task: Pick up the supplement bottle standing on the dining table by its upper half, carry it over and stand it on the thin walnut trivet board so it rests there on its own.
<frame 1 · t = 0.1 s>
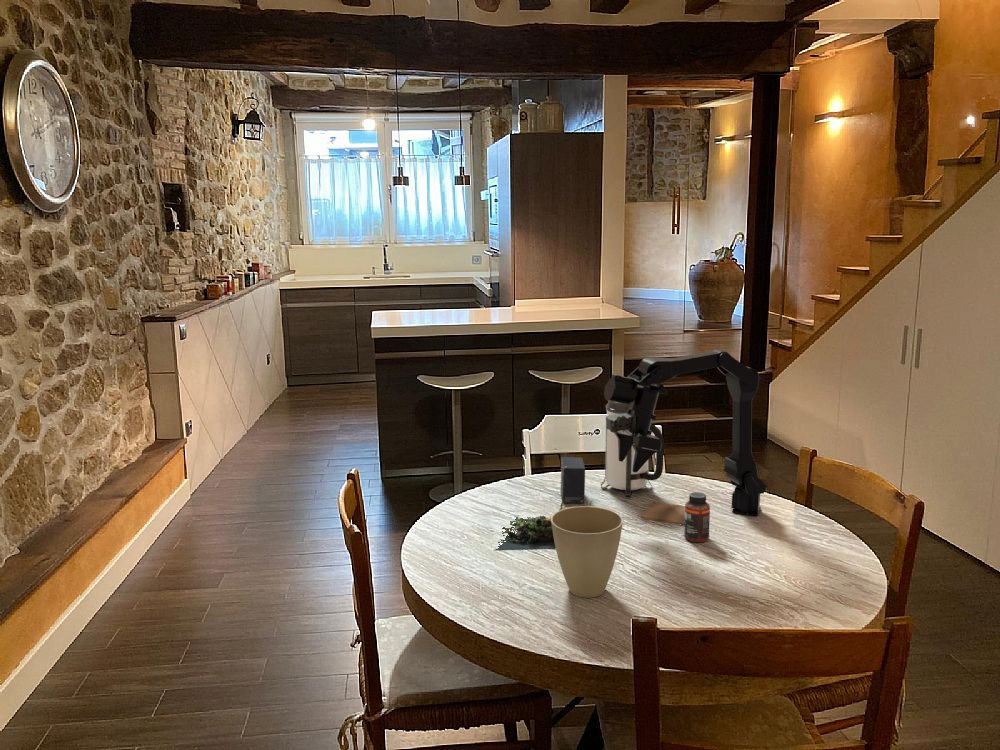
hand: (627, 466, 194), 15 cm above the table, tool pointing down, fingers open, 9 cm apart
coffee press: (630, 490, 222), on the table
plant pot: (585, 590, 161), on the table
small box: (572, 498, 216), on the table
walnut trivet: (669, 516, 203), on the table
supplement bottle: (696, 539, 187), on the table
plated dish: (547, 533, 193), on the table
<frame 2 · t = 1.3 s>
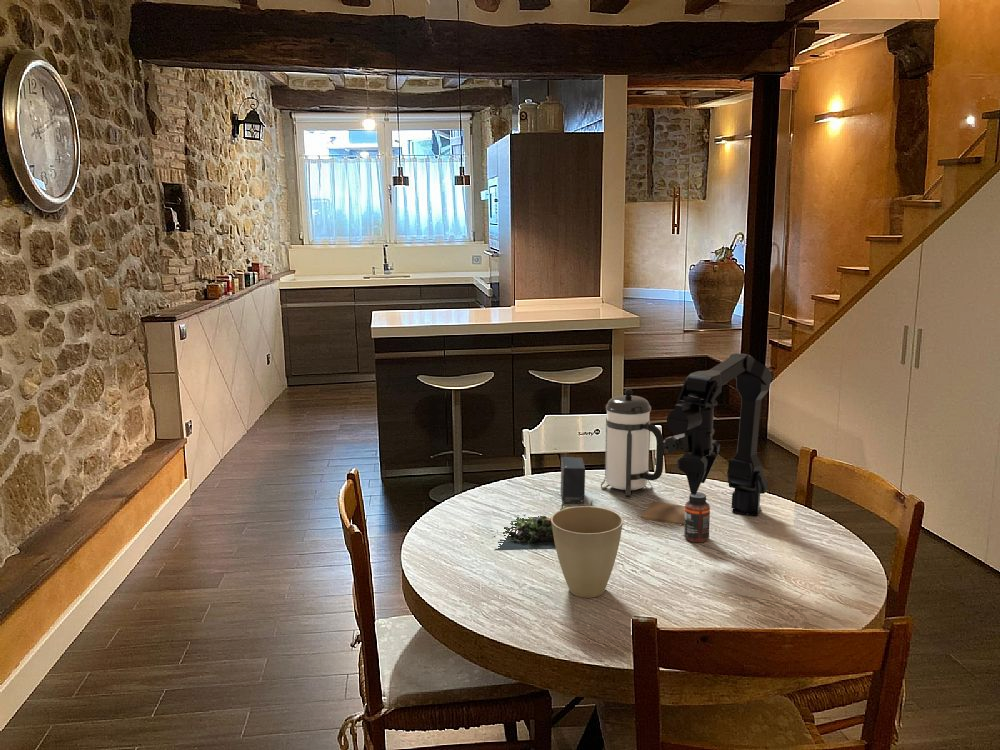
hand: (697, 488, 185), 13 cm above the table, tool pointing down, fingers open, 9 cm apart
nothing on the table moved.
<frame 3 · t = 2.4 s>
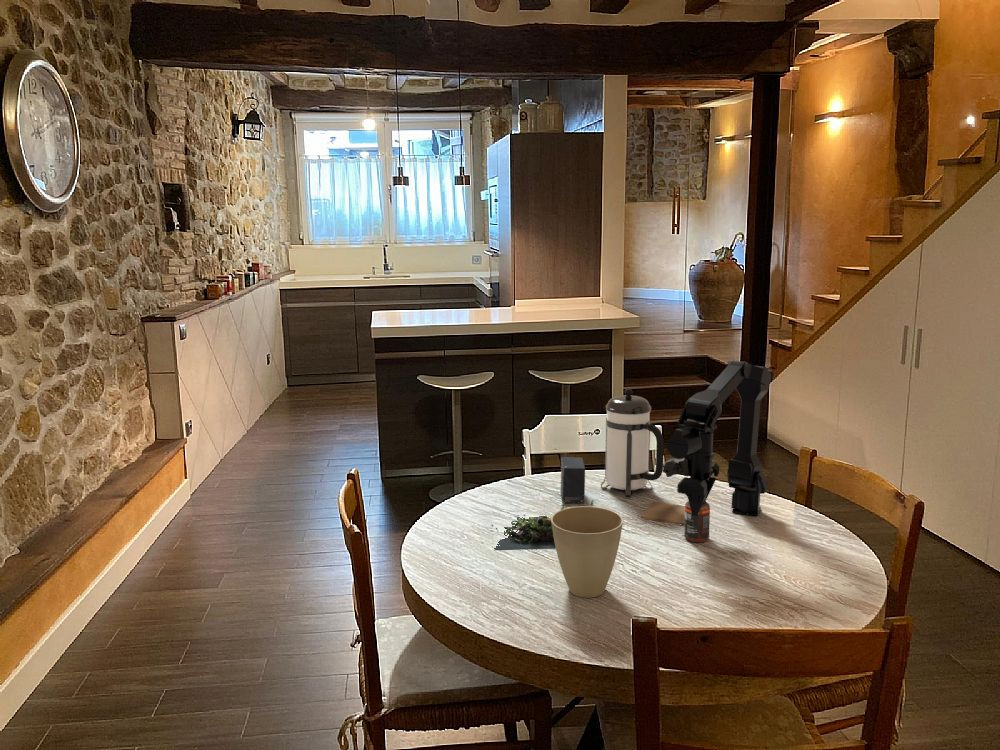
hand: (697, 511, 186), 7 cm above the table, tool pointing down, fingers closed on supplement bottle, 6 cm apart
supplement bottle: (696, 539, 187), on the table, touching gripper
everything else where it was.
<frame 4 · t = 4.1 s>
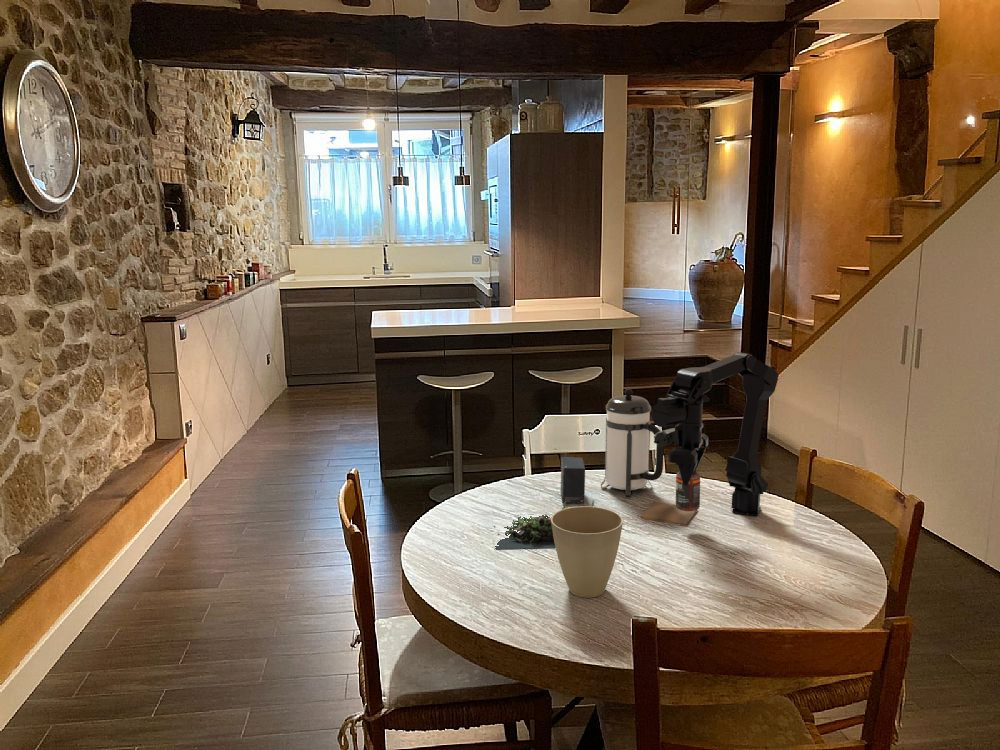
hand: (688, 480, 191), 13 cm above the table, tool pointing down, fingers closed on supplement bottle, 6 cm apart
supplement bottle: (687, 508, 192), point 5 cm above the table, touching gripper
everything else where it was.
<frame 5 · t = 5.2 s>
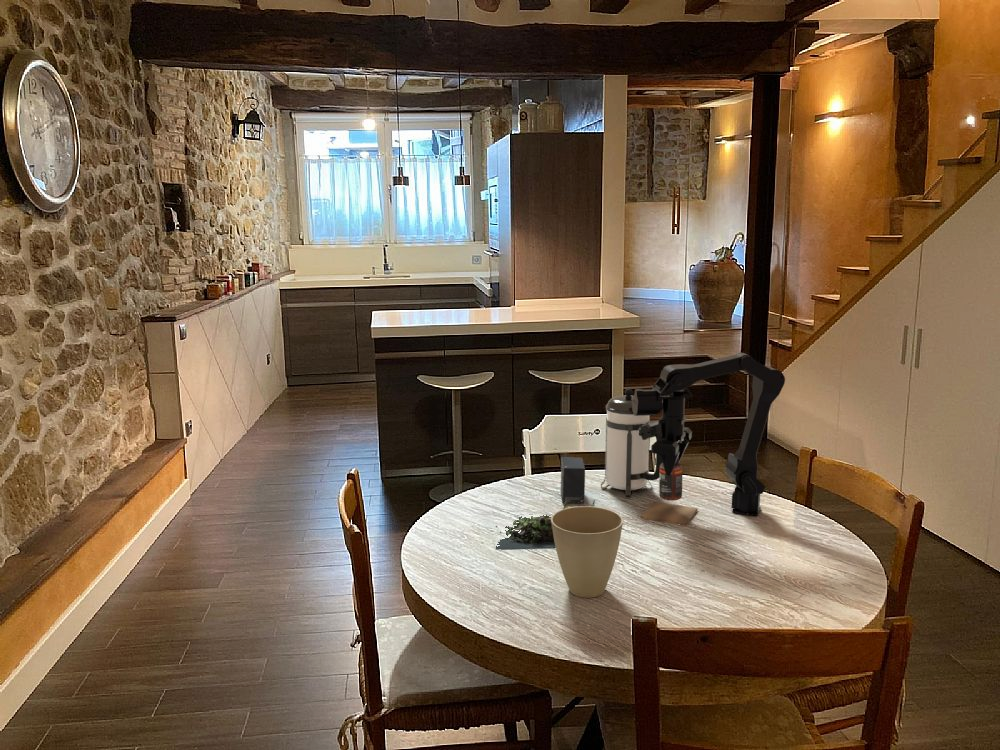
hand: (671, 471, 201), 12 cm above the table, tool pointing down, fingers closed on supplement bottle, 6 cm apart
supplement bottle: (670, 498, 202), point 4 cm above the table, touching gripper
everything else where it was.
when the fingers open (9 cm above the table, at t = 6.5 s): supplement bottle moves 1 cm, resting on walnut trivet.
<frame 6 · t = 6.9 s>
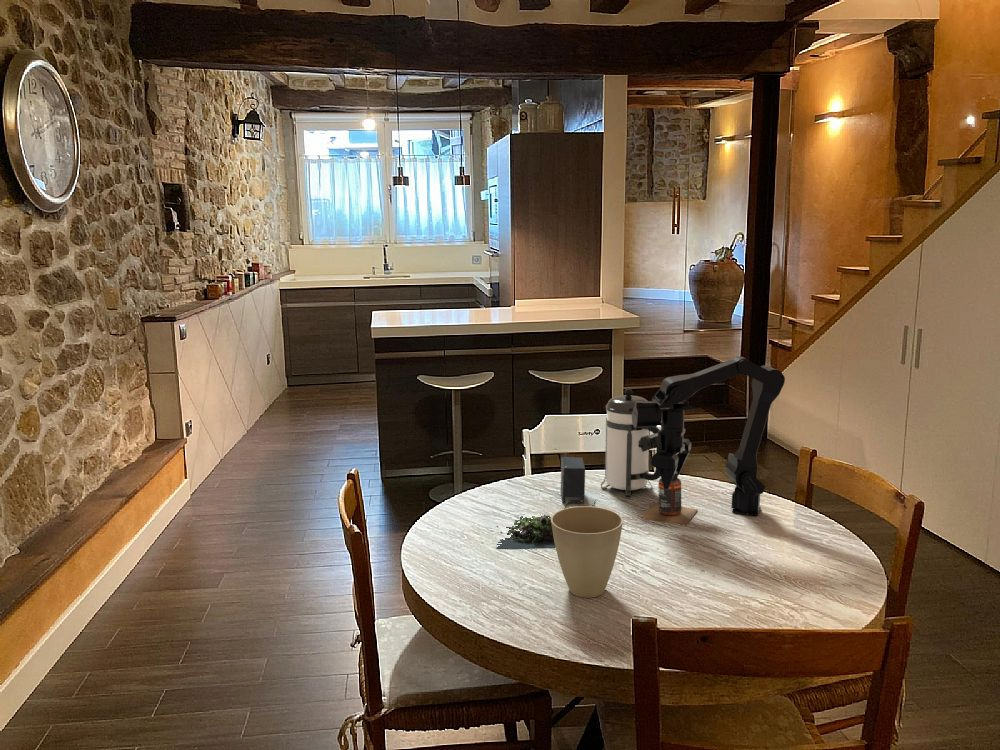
hand: (670, 483, 201), 9 cm above the table, tool pointing down, fingers open, 9 cm apart
walnut trivet: (669, 517, 203), on the table, touching supplement bottle
supplement bottle: (669, 513, 203), resting on walnut trivet
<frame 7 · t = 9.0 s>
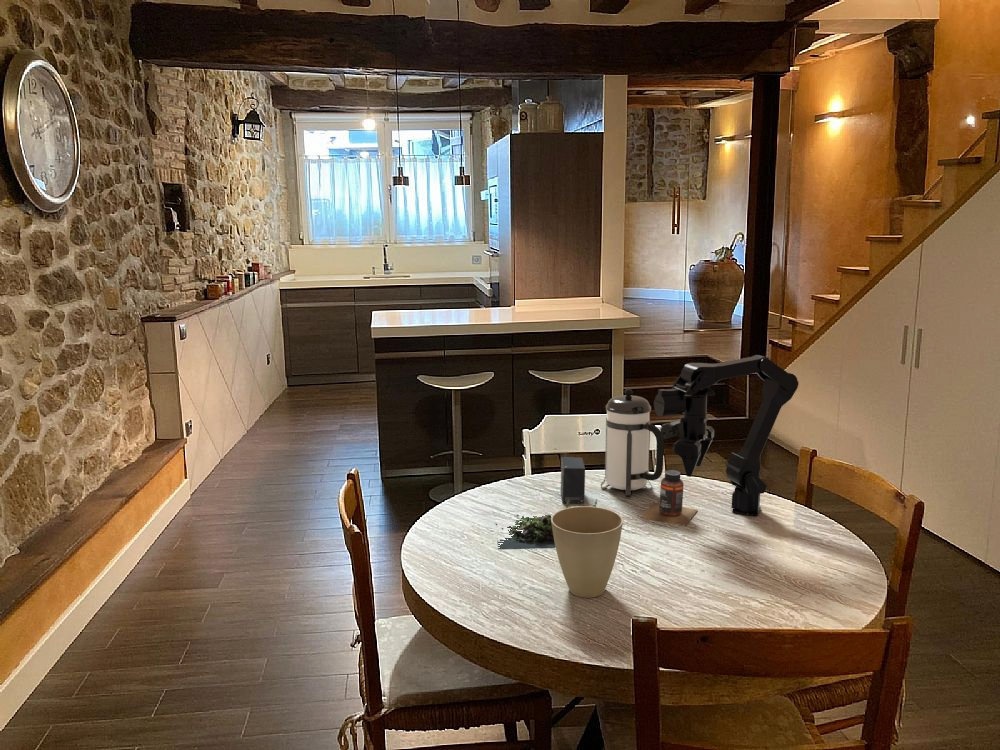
hand: (693, 471, 198), 13 cm above the table, tool pointing down, fingers open, 9 cm apart
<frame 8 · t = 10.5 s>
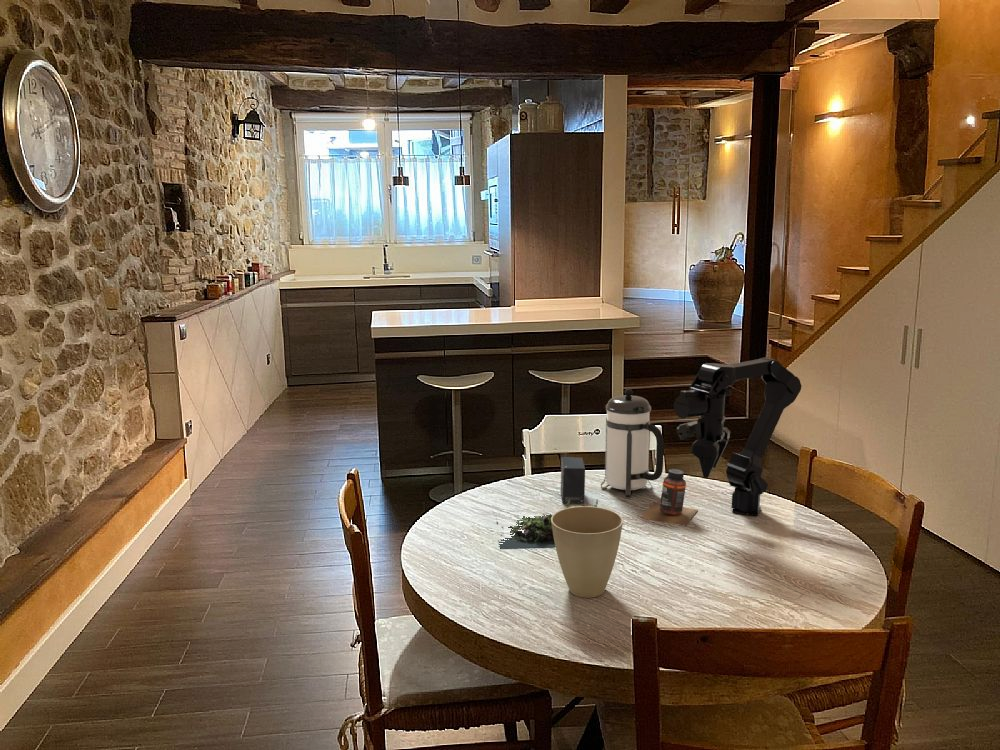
hand: (709, 472, 196), 13 cm above the table, tool pointing down, fingers open, 9 cm apart
at the end: supplement bottle 0.2 cm from the walnut trivet (horizontally); supplement bottle touching walnut trivet; supplement bottle tilted 8° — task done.
